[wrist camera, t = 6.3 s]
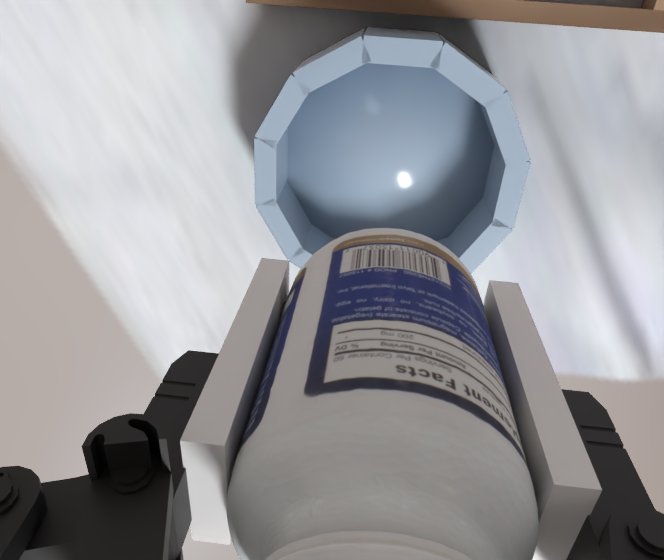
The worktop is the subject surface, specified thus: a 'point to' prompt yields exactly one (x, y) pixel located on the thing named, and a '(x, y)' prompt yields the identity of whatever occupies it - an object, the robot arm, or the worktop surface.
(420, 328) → the pill bottle
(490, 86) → the bowl
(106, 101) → the worktop surface
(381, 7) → the empty rectangular wooden frame
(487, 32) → the worktop surface
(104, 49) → the worktop surface
